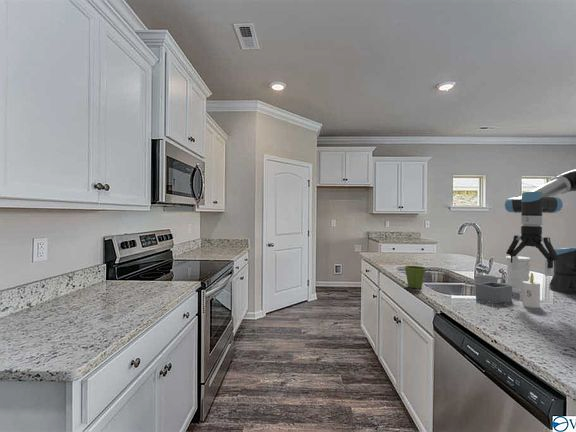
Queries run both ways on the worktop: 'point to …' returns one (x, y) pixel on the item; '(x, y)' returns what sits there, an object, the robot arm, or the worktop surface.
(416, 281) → the plant pot
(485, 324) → the worktop surface
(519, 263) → the decorative container
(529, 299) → the candle
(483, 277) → the teacup
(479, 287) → the slate holder
